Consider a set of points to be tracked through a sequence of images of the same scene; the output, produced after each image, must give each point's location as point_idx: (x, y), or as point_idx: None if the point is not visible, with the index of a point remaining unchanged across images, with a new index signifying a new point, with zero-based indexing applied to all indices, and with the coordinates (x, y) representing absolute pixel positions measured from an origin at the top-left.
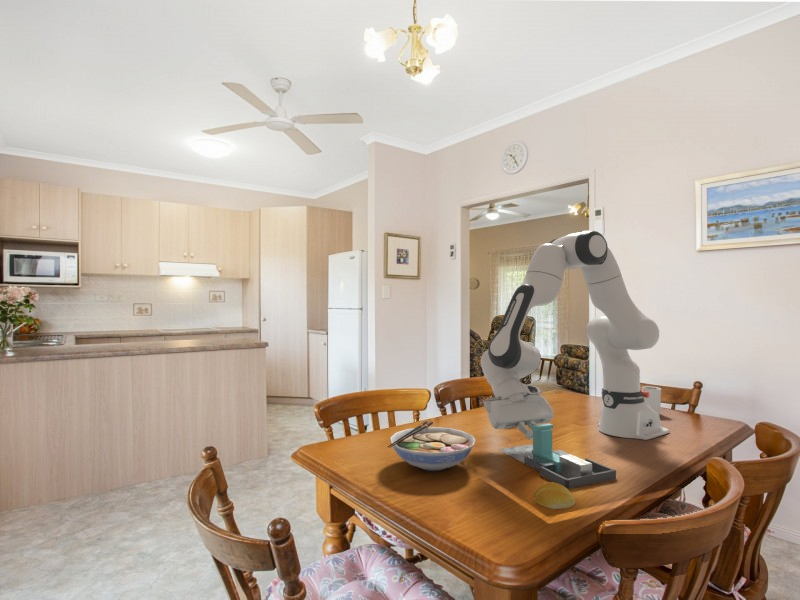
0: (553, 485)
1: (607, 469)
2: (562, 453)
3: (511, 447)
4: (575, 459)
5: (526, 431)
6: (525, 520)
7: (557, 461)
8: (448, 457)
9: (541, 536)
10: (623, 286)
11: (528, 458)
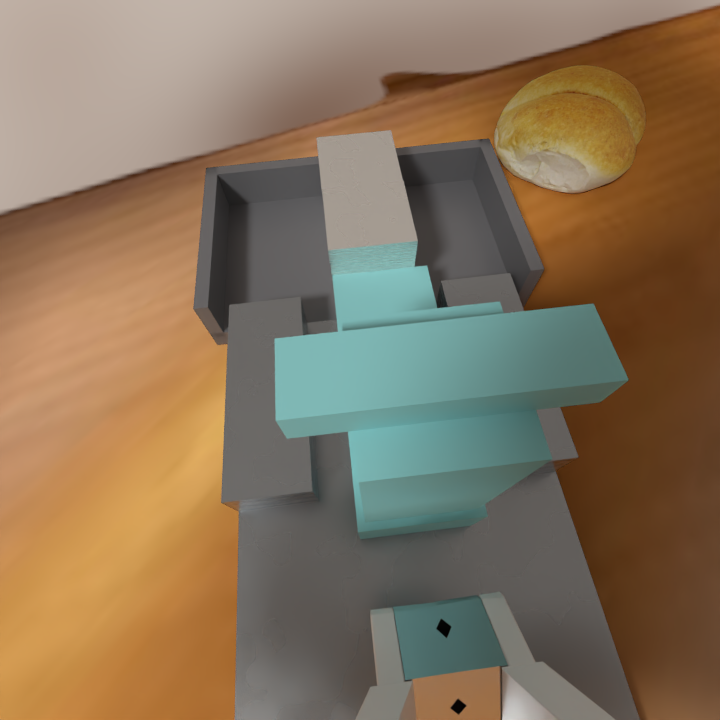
0: (581, 95)
1: (217, 198)
2: (270, 419)
3: None
4: (360, 185)
5: (544, 674)
6: (690, 98)
7: (420, 275)
8: None
9: (664, 50)
10: None
11: (559, 410)
